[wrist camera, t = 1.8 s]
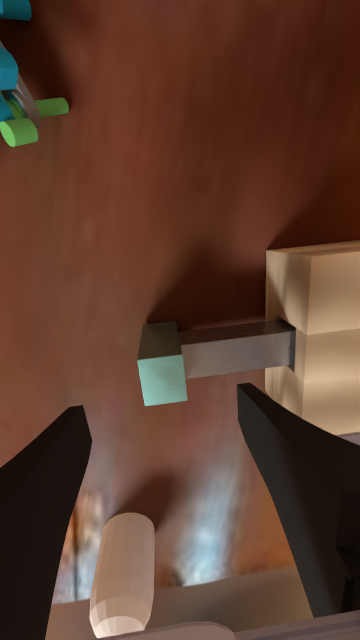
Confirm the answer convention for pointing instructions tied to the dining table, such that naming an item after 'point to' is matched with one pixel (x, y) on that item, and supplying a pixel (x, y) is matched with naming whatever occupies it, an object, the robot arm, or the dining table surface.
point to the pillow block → (318, 332)
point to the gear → (20, 90)
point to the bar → (208, 354)
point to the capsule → (123, 576)
